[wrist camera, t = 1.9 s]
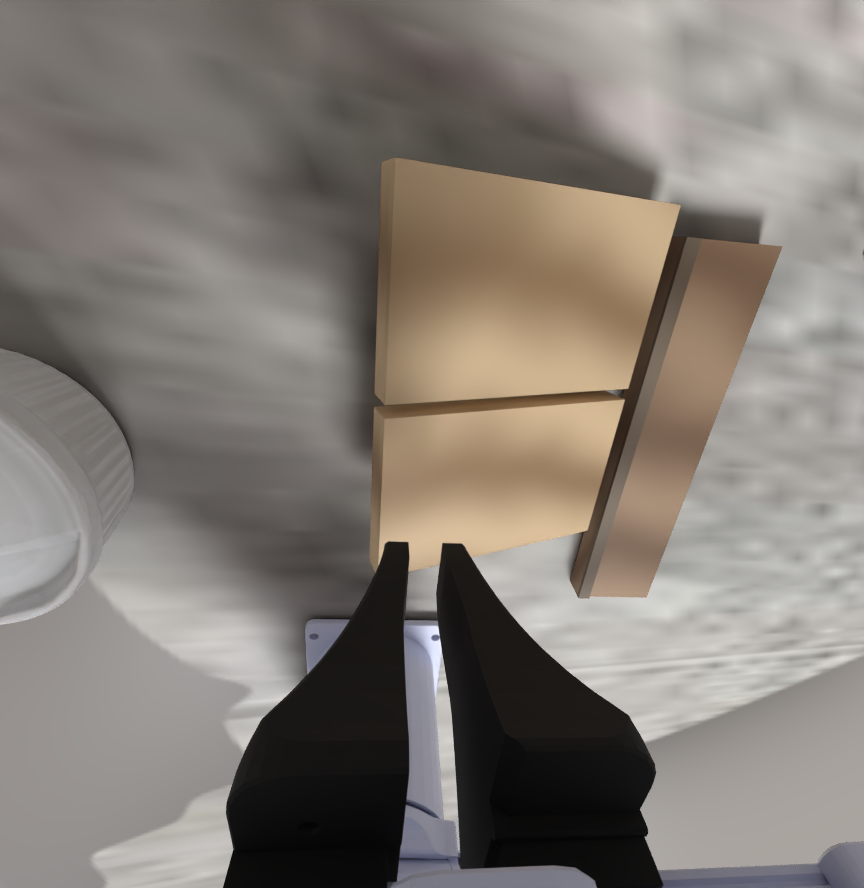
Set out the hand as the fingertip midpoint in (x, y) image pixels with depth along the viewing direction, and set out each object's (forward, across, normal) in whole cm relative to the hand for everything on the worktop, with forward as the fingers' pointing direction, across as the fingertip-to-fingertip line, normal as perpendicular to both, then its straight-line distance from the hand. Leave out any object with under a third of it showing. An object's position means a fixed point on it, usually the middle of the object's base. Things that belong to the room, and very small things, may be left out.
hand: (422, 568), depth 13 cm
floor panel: (+8, -12, -1) cm, 14 cm away
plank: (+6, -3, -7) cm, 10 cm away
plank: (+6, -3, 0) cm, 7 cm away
